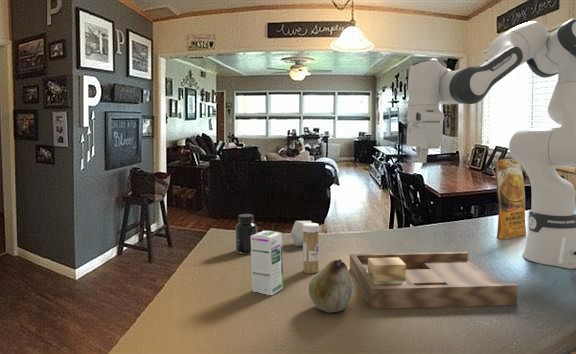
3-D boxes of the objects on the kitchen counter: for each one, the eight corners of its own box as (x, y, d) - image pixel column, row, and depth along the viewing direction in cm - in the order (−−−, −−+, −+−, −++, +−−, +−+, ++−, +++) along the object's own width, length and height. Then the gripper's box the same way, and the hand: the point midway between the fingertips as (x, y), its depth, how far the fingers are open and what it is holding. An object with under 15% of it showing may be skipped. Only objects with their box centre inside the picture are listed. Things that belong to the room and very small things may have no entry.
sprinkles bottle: (316, 274, 123) (316, 226, 122) (300, 273, 125) (300, 225, 123) (320, 269, 127) (320, 222, 126) (305, 268, 129) (304, 221, 127)
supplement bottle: (232, 253, 144) (231, 216, 143) (242, 247, 150) (241, 212, 149) (251, 255, 142) (250, 218, 140) (260, 249, 148) (260, 213, 147)
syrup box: (271, 296, 108) (271, 237, 106) (251, 292, 111) (250, 234, 109) (283, 288, 113) (283, 232, 111) (263, 285, 116) (262, 229, 114)
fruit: (339, 322, 93) (340, 266, 92) (300, 312, 98) (300, 259, 97) (359, 305, 102) (359, 253, 101) (322, 297, 107) (322, 248, 106)
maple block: (398, 272, 117) (398, 257, 116) (405, 280, 111) (405, 264, 110) (367, 273, 116) (368, 258, 116) (373, 281, 110) (373, 265, 110)
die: (308, 251, 148) (323, 225, 150) (284, 237, 149) (299, 212, 151) (306, 254, 156) (321, 229, 158) (284, 240, 157) (299, 216, 159)
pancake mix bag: (485, 237, 161) (488, 159, 158) (515, 230, 171) (519, 156, 168) (502, 241, 156) (506, 160, 152) (533, 233, 166) (537, 157, 163)
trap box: (465, 267, 128) (465, 251, 128) (516, 304, 101) (517, 285, 101) (349, 269, 127) (349, 254, 126) (371, 308, 100) (371, 289, 100)
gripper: (401, 116, 142) (401, 160, 144) (423, 114, 122) (422, 165, 124) (421, 116, 143) (420, 159, 144) (446, 114, 122) (445, 165, 124)
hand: (421, 162), depth 134 cm, fingers closed
